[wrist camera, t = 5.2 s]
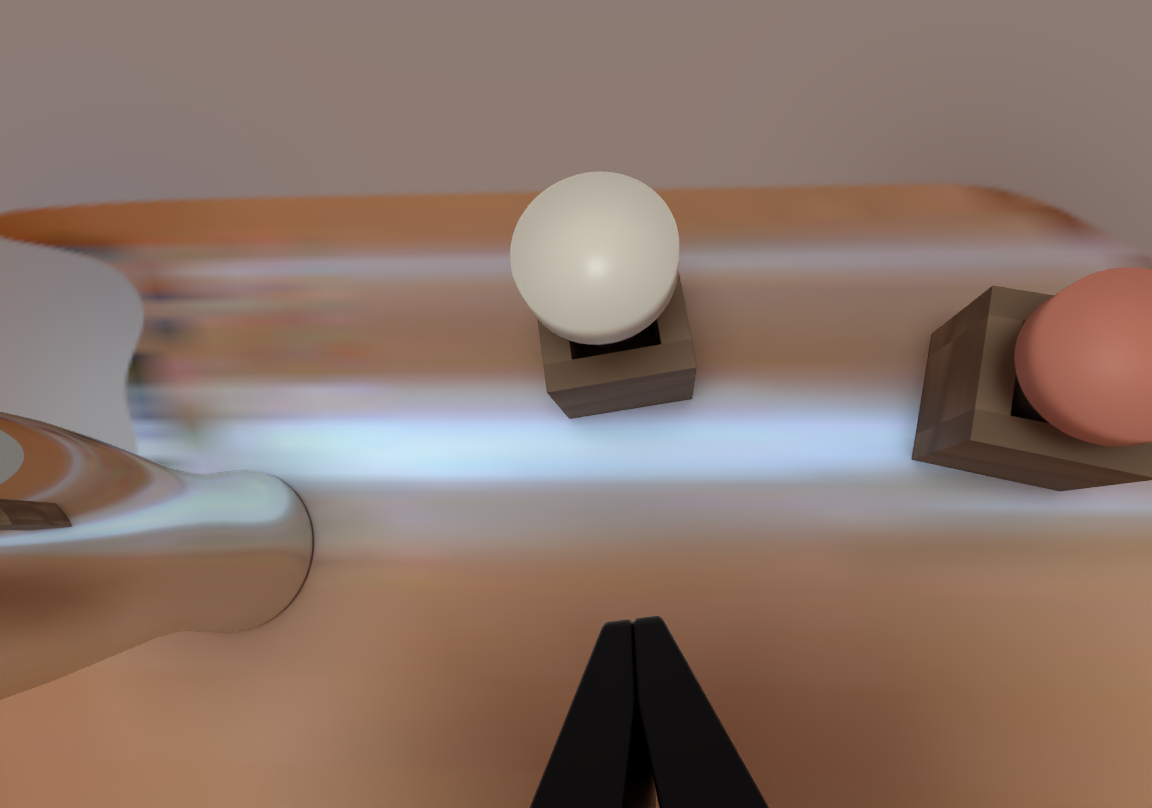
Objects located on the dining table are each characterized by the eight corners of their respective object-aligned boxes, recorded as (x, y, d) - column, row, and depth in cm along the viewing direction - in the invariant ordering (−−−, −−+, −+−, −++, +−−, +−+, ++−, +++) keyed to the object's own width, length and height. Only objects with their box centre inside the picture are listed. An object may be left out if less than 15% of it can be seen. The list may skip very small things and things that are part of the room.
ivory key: (688, 370, 20) (693, 312, 15) (557, 391, 20) (520, 343, 15) (665, 248, 21) (663, 156, 16) (541, 272, 21) (501, 189, 16)
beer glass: (323, 449, 25) (-161, 324, 10) (328, 633, 23) (-232, 788, 9) (163, 472, 26) (-489, 387, 11) (158, 652, 24) (-608, 821, 10)
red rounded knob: (1088, 478, 19) (1236, 457, 14) (939, 447, 20) (1029, 417, 15) (1102, 348, 20) (1248, 284, 15) (959, 323, 21) (1051, 254, 16)
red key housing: (1060, 491, 21) (1159, 478, 17) (911, 459, 22) (970, 439, 17) (1075, 359, 22) (1174, 315, 17) (932, 333, 22) (992, 285, 18)
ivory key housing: (691, 398, 23) (696, 367, 19) (569, 418, 24) (547, 392, 19) (671, 283, 24) (670, 228, 20) (554, 304, 25) (529, 256, 21)
